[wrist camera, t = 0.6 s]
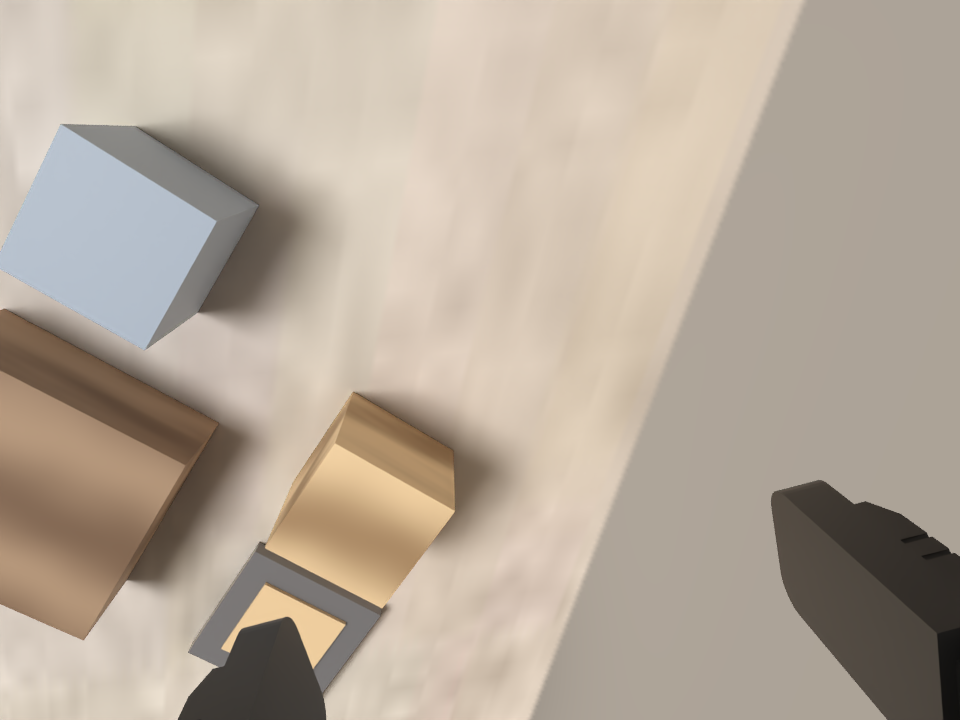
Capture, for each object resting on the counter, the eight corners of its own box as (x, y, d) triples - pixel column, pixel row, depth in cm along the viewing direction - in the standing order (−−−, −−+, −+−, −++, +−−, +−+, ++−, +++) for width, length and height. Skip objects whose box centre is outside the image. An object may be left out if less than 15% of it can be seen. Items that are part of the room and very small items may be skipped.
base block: (9, 307, 29) (-67, 336, 25) (221, 420, 31) (185, 465, 27) (-73, 482, 31) (-155, 536, 27) (129, 576, 33) (83, 640, 29)
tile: (259, 542, 33) (254, 553, 32) (381, 605, 34) (380, 618, 33) (193, 640, 34) (186, 655, 34) (313, 696, 36) (309, 712, 35)
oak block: (353, 390, 31) (334, 443, 26) (453, 450, 32) (455, 511, 27) (293, 480, 32) (264, 548, 27) (391, 534, 33) (382, 608, 28)
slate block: (136, 126, 27) (61, 124, 22) (259, 205, 28) (216, 221, 23) (77, 241, 28) (-7, 265, 23) (198, 312, 29) (144, 350, 24)
